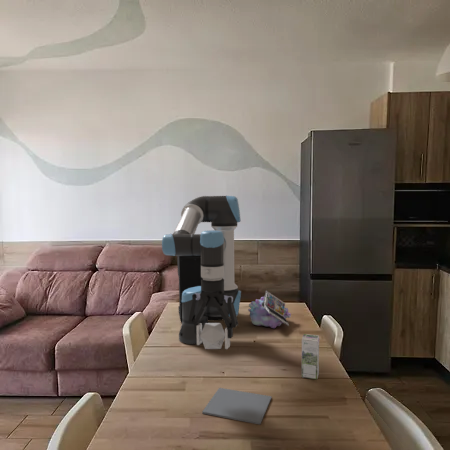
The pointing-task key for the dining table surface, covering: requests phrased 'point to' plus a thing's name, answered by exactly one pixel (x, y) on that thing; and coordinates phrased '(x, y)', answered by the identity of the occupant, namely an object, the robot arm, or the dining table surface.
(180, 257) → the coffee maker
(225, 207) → the robot arm
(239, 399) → the mat
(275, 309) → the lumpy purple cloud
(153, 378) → the dining table surface
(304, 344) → the syrup box
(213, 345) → the die
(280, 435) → the dining table surface
